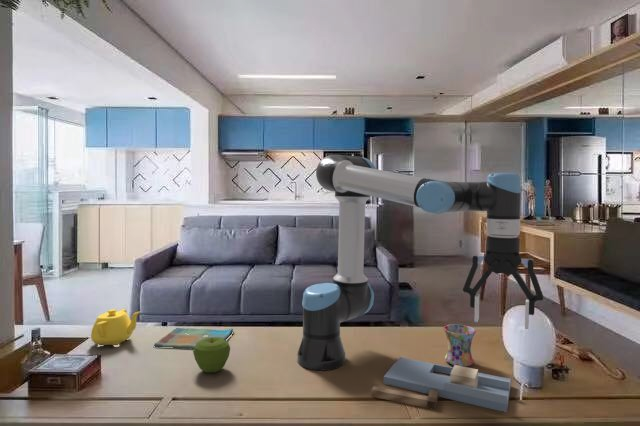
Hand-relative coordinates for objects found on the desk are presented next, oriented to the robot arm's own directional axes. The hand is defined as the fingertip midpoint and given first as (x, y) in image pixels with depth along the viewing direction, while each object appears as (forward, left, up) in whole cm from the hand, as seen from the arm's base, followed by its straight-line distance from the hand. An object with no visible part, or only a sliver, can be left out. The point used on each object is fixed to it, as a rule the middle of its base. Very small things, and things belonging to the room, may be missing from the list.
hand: (501, 323), depth 101 cm
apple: (-77, -21, -20) cm, 82 cm away
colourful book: (-100, -5, -21) cm, 102 cm away
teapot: (-122, -20, -20) cm, 125 cm away
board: (-14, +3, -20) cm, 24 cm away
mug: (-14, +21, -20) cm, 32 cm away
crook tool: (-22, -9, -20) cm, 31 cm away
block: (-9, 0, -18) cm, 20 cm away
